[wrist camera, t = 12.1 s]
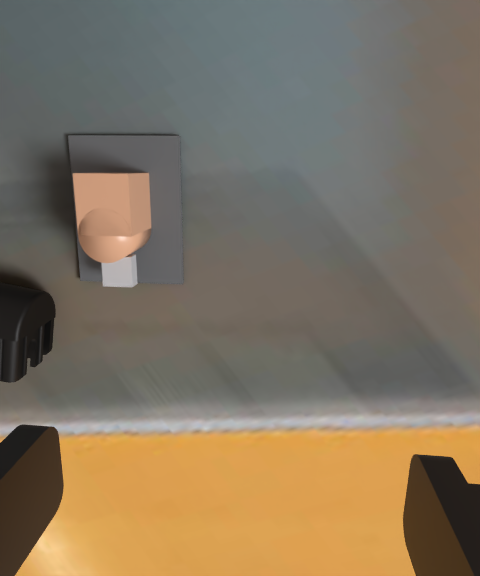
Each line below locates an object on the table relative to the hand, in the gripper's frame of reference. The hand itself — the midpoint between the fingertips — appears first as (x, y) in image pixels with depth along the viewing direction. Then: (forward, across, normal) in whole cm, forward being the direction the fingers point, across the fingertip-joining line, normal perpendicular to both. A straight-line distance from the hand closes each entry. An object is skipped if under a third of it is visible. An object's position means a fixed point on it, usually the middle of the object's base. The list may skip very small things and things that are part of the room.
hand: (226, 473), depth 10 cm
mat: (+28, +12, -3) cm, 31 cm away
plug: (+28, +12, -2) cm, 30 cm away
